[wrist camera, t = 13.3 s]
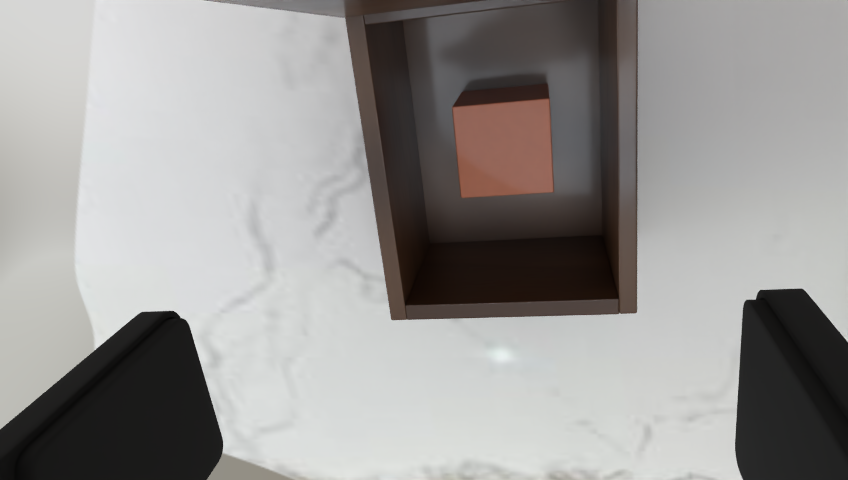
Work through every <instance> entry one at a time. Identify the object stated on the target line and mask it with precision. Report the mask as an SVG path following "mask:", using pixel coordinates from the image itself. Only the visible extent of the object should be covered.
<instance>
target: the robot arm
mask: <svg viewBox="0 0 848 480" xmlns="http://www.w3.org/2000/svg"><path fill="white" fill-rule="evenodd" d="M222 451H223V439H222V435H221V432H220V428H219V425H218V422H217V418H216V415H215V412H214V408H213V405H212V401H211V398H210V395H209V391H208V388H207V384H206V381H205V378H204V374H203V371H202V367H201V364H200V361H199V357H198V354H197V350H196V347H195V344H194V340H193V337H192V333H191V330H190V327H189V324H188V323H187V321H186V320H184V319H183V318H180V316H179V315H178V314H177V313H176V312H174V311H158V312H141V313H140V314H138V315H137V316H135V317H134V318H133V319H132V320H131V321H129V322H128V323H127V324H126V325H125V326H123V327H122V328H121V329H120V330H119V331H118V332H116V333H115V334H114V335H113V336H112V337H110V338H109V339H108V340H107V341H106V342H104V343H103V344H102V345H101V346H100V347H98V348H97V349H96V350H95V351H94V352H92V353H91V354H90V355H89V356H88V357H87V358H85V359H84V360H83V361H82V362H81V363H79V364H78V365H77V366H76V367H74V368H73V369H72V370H71V371H70V372H69V373H67V374H66V375H65V376H64V377H63V378H61V379H60V380H59V381H58V382H57V383H55V384H54V385H53V386H52V387H51V388H49V389H48V390H47V391H46V392H45V393H43V394H42V395H41V396H40V397H39V398H37V399H36V400H35V401H34V402H33V403H31V404H30V405H29V406H28V407H27V408H25V409H24V410H23V411H22V412H21V413H19V415H17V416H16V417H15V418H14V419H12V420H11V421H10V422H9V423H8V424H6V425H5V426H4V427H3V428H2V429H0V480H207V478H208V477H209V475H210V474H211V472H212V471H213V469H214V468H215V466H216V465H217V463H218V462H219V459H220V457H221V455H222ZM735 451H736V459H737V464H738V468H739V471H740V473H741V476H742V478H743V480H848V342H847V341H846V340H845V338H844V337H843V336H842V335H841V334H840V332H839V331H838V330H837V329H836V328H835V326H834V325H833V324H832V323H831V322H830V320H829V319H828V318H827V317H826V316H825V314H824V313H823V312H822V311H821V309H820V308H819V307H818V306H817V305H816V303H815V302H814V301H813V300H812V299H811V297H810V296H809V295H808V294H807V293H806V291H804V290H803V289H778V290H760V291H759V292H758V294H757V297H756V300H746V301H745V303H744V306H743V319H742V336H741V353H740V370H739V387H738V405H737V422H736V439H735Z"/></svg>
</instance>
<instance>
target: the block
mask: <svg viewBox="0 0 848 480" xmlns="http://www.w3.org/2000/svg"><path fill="white" fill-rule="evenodd" d="M452 114H453V124H454V134H455V144H456V154H457V164H458V174H459V184H460V194H461V198H472V197H488V196H504V195H520V194H536V193H552V192H554V179H553V157H552V135H551V113H550V96H549V88H548V84H537V85H526V86H515V87H505V88H494V89H484V90H473V91H463V92H462V93H461V94H460V96H459V97H458V99H457V100H456V102H455V103H454V105H453V106H452Z"/></svg>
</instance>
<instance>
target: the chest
mask: <svg viewBox="0 0 848 480" xmlns="http://www.w3.org/2000/svg"><path fill="white" fill-rule="evenodd" d="M345 19H346V26H347V32H348V39H349V45H350V52H351V59H352V65H353V72H354V78H355V85H356V91H357V98H358V104H359V111H360V117H361V124H362V131H363V137H364V144H365V150H366V157H367V163H368V170H369V176H370V183H371V189H372V196H373V203H374V209H375V216H376V222H377V229H378V235H379V242H380V248H381V255H382V262H383V268H384V275H385V281H386V288H387V294H388V301H389V307H390V314H391V319H392V320H406V319H408V320H412V319H450V318H488V317H525V316H563V315H601V314H619V313H621V314H625V313H636V312H637V90H638V0H484V1H476V2H468V3H459V4H451V5H443V6H435V7H426V8H418V9H410V10H402V11H393V12H385V13H377V14H369V15H360V16H352V17H345ZM537 84H548V88H549V96H550V113H551V135H552V157H553V179H554V192H552V193H536V194H520V195H504V196H488V197H472V198H461V194H460V184H459V174H458V164H457V154H456V144H455V134H454V124H453V114H452V106H453V105H454V103H455V102H456V100H457V99H458V97H459V96H460V94H461V93H462V92H463V91H473V90H484V89H494V88H505V87H515V86H526V85H537Z"/></svg>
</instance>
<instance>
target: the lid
mask: <svg viewBox="0 0 848 480" xmlns="http://www.w3.org/2000/svg"><path fill="white" fill-rule="evenodd" d="M206 1H214V2H222V3H230V4H238V5H246V6H254V7H262V8H270V9H278V10H286V11H294V12H302V13H310V14H318V15H326V16H334V17H342V18H344V17H352V16H360V15H369V14H377V13H385V12H393V11H402V10H410V9H418V8H426V7H435V6H443V5H451V4H459V3H468V2H476V1H484V0H206Z"/></svg>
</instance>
